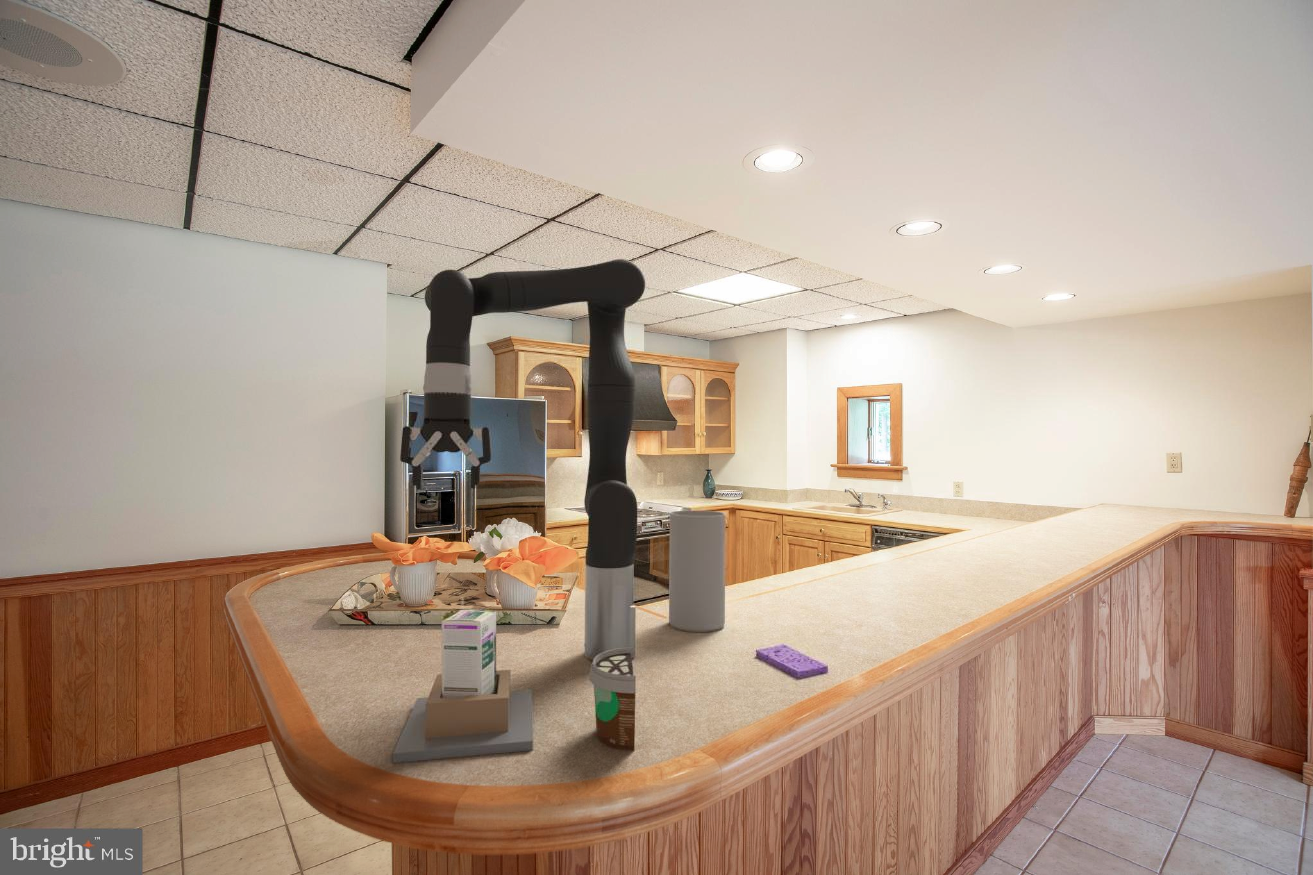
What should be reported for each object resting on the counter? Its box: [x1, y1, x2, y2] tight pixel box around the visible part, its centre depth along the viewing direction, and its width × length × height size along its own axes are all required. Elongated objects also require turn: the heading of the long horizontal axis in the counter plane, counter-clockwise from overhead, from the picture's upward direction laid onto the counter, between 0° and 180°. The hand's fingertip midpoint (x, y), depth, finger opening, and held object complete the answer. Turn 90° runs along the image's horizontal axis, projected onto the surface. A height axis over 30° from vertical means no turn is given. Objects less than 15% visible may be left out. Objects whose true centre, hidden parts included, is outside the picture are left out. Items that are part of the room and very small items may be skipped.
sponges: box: [755, 644, 829, 679], centre depth 111 cm, size 7×13×2 cm, turn 27°
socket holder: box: [392, 669, 534, 764], centre depth 85 cm, size 17×17×6 cm
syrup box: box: [441, 608, 497, 698], centre depth 85 cm, size 6×6×14 cm
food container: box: [588, 647, 637, 751], centre depth 83 cm, size 12×6×10 cm, turn 5°
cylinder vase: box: [668, 510, 727, 633], centre depth 136 cm, size 12×12×25 cm
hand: (446, 488), depth 101 cm, fingers open, 8 cm apart
